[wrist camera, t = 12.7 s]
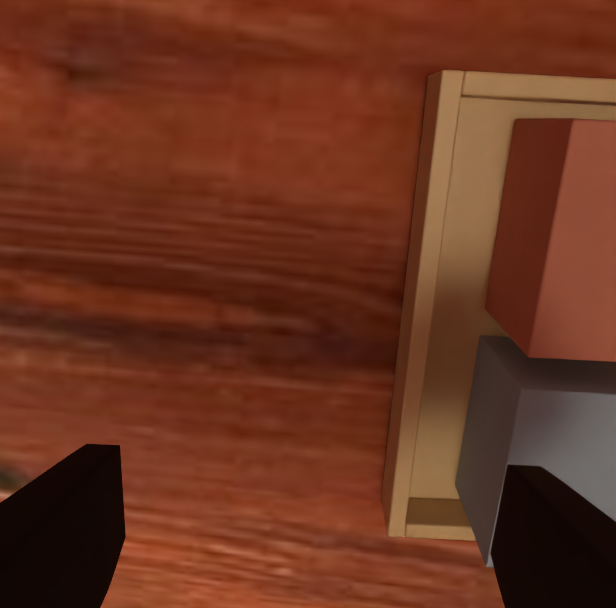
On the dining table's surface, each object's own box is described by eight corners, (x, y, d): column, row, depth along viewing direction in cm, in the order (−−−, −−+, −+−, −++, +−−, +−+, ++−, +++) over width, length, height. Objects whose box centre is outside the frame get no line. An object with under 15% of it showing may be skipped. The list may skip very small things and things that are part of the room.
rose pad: (483, 309, 18) (527, 358, 15) (514, 118, 17) (573, 118, 13) (604, 315, 18) (678, 366, 15) (647, 125, 17) (747, 127, 13)
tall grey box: (454, 485, 21) (485, 568, 17) (479, 334, 19) (521, 389, 15) (561, 491, 21) (617, 575, 17) (597, 341, 19) (669, 397, 15)
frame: (380, 500, 21) (387, 537, 20) (427, 74, 17) (442, 69, 15) (618, 512, 21) (648, 550, 20) (733, 91, 17) (787, 88, 15)
